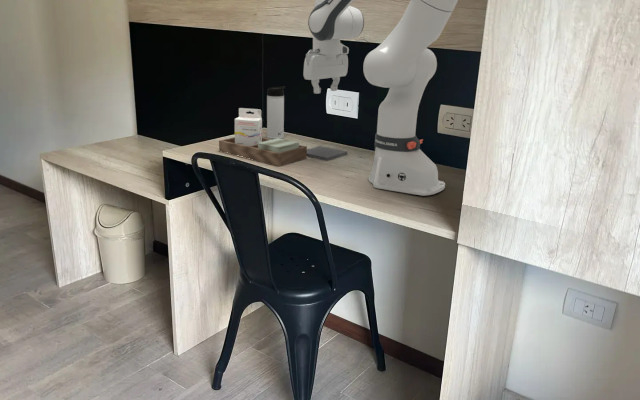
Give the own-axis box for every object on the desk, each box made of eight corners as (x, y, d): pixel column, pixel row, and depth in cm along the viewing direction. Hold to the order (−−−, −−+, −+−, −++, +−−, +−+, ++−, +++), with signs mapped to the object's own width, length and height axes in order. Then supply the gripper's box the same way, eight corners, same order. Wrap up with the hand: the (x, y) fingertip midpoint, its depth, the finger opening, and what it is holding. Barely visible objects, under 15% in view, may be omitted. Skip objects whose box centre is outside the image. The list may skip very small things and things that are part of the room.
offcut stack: (300, 159, 186) (300, 141, 184) (280, 166, 177) (280, 147, 175) (276, 154, 191) (276, 137, 189) (255, 160, 182) (255, 142, 180)
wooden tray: (306, 158, 186) (306, 146, 185) (279, 166, 176) (279, 154, 174) (247, 145, 201) (247, 134, 200) (219, 152, 191) (218, 140, 189)
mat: (347, 154, 193) (347, 151, 193) (327, 160, 184) (327, 157, 184) (319, 148, 200) (319, 145, 199) (298, 154, 191) (298, 151, 190)
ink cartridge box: (234, 153, 190) (233, 109, 186) (238, 149, 195) (237, 107, 190) (258, 154, 189) (258, 111, 184) (262, 151, 194) (262, 109, 189)
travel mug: (283, 141, 209) (284, 87, 202) (266, 141, 209) (266, 87, 202) (285, 138, 214) (285, 85, 208) (268, 137, 215) (268, 85, 208)
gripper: (314, 50, 171) (314, 95, 175) (351, 48, 187) (350, 90, 191) (298, 49, 174) (298, 94, 179) (336, 47, 190) (335, 88, 194)
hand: (325, 91), depth 185 cm, fingers open, 8 cm apart
